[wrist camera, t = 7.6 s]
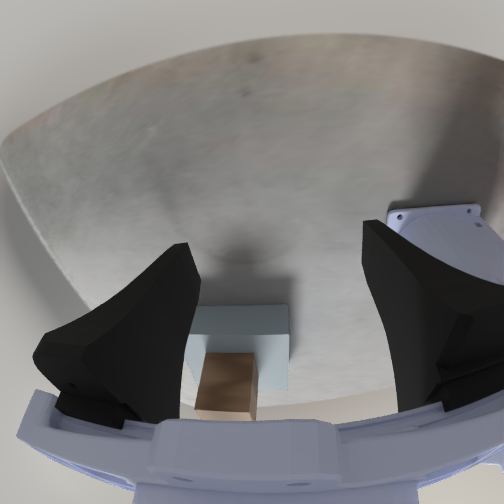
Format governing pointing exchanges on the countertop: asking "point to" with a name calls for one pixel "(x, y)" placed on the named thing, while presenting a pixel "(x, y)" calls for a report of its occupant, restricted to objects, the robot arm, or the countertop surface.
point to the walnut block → (228, 387)
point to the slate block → (243, 339)
